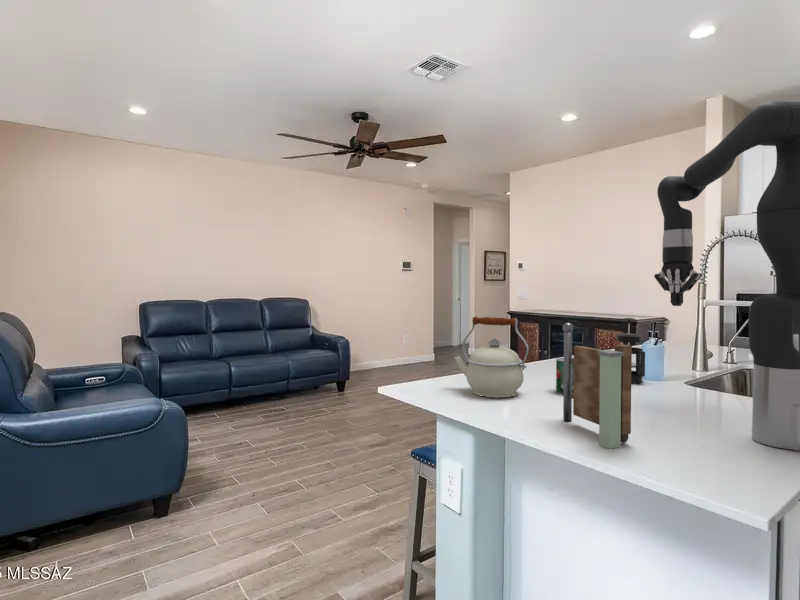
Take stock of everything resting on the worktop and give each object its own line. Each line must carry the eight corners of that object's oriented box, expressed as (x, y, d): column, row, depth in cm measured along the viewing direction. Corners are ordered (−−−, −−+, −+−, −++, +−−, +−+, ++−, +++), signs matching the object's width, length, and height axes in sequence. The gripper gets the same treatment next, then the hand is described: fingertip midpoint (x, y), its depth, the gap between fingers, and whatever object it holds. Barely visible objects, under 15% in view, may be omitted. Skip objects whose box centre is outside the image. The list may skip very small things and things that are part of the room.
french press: (606, 379, 167) (607, 317, 167) (627, 377, 170) (627, 316, 170) (632, 386, 156) (633, 319, 155) (653, 384, 159) (654, 319, 158)
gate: (567, 421, 116) (568, 337, 115) (575, 420, 117) (576, 337, 116) (621, 444, 99) (622, 346, 98) (630, 443, 100) (632, 345, 99)
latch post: (597, 443, 101) (597, 350, 100) (610, 441, 102) (611, 350, 101) (609, 449, 97) (610, 353, 97) (622, 447, 99) (623, 352, 98)
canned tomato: (552, 390, 152) (553, 357, 151) (576, 390, 151) (576, 357, 151) (560, 396, 144) (560, 361, 143) (585, 396, 143) (585, 361, 143)
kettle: (535, 391, 150) (535, 316, 149) (519, 404, 135) (519, 320, 134) (464, 383, 163) (464, 314, 162) (443, 394, 147) (443, 317, 146)
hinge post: (575, 421, 117) (575, 322, 116) (567, 422, 116) (568, 323, 115) (567, 418, 120) (567, 322, 119) (560, 420, 118) (560, 322, 117)
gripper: (709, 244, 127) (708, 306, 128) (663, 248, 139) (662, 304, 139) (693, 243, 124) (692, 307, 124) (647, 247, 135) (647, 305, 136)
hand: (676, 305), depth 132 cm, fingers closed
